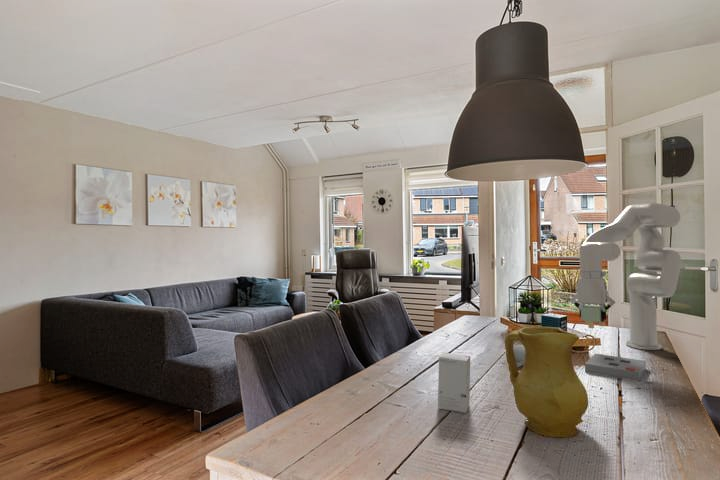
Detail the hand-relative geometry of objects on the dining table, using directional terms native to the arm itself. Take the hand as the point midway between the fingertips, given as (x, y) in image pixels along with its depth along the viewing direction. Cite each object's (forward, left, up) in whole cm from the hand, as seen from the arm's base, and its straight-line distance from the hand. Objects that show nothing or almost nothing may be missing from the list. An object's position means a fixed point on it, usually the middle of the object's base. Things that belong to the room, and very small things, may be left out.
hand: (592, 319), depth 165 cm
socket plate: (+13, +10, -15) cm, 22 cm away
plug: (0, 0, -3) cm, 3 cm away
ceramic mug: (+27, -18, -15) cm, 36 cm away
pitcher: (+72, +5, -15) cm, 73 cm away
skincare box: (+77, -19, -15) cm, 81 cm away
